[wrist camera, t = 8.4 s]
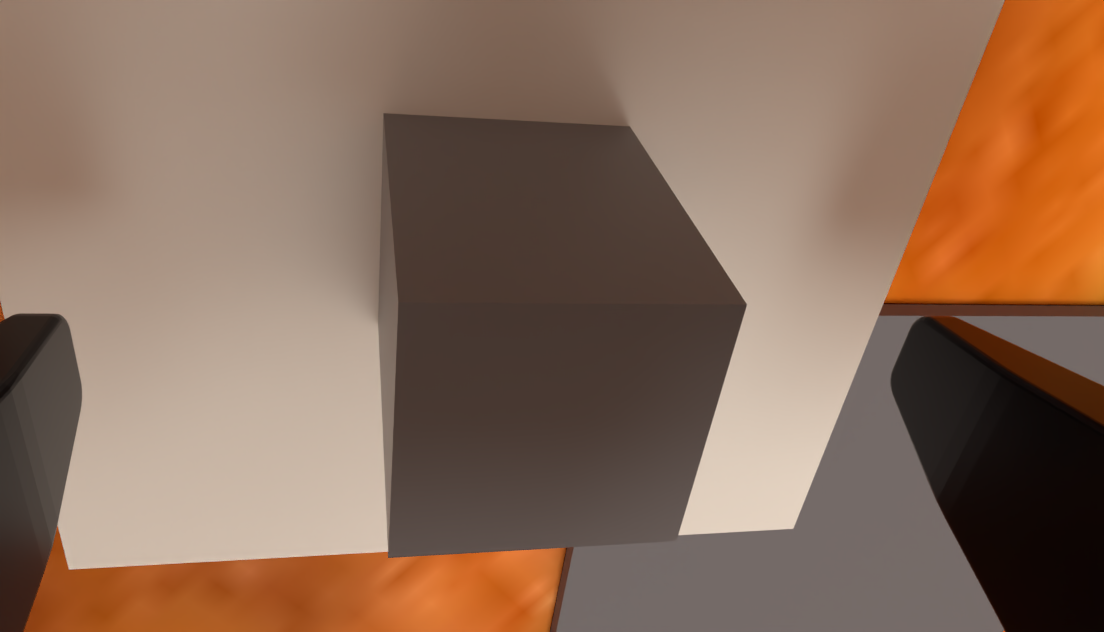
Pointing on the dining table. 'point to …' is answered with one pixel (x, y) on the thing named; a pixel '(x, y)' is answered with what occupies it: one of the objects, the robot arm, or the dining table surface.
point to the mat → (830, 521)
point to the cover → (460, 258)
